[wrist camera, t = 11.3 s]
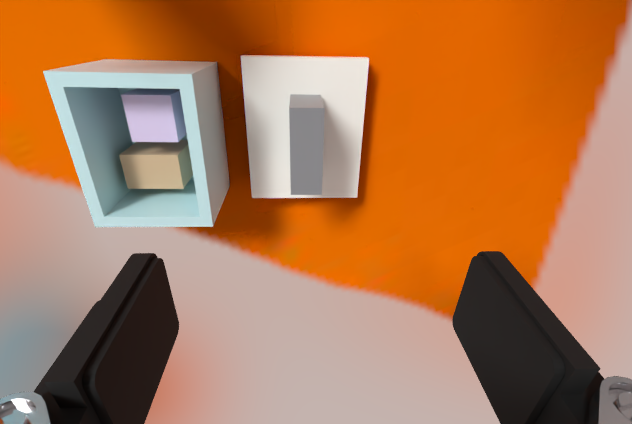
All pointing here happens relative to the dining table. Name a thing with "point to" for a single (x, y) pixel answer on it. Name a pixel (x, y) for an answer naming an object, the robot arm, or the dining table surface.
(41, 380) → the robot arm
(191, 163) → the tub
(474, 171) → the dining table surface
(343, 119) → the lid
